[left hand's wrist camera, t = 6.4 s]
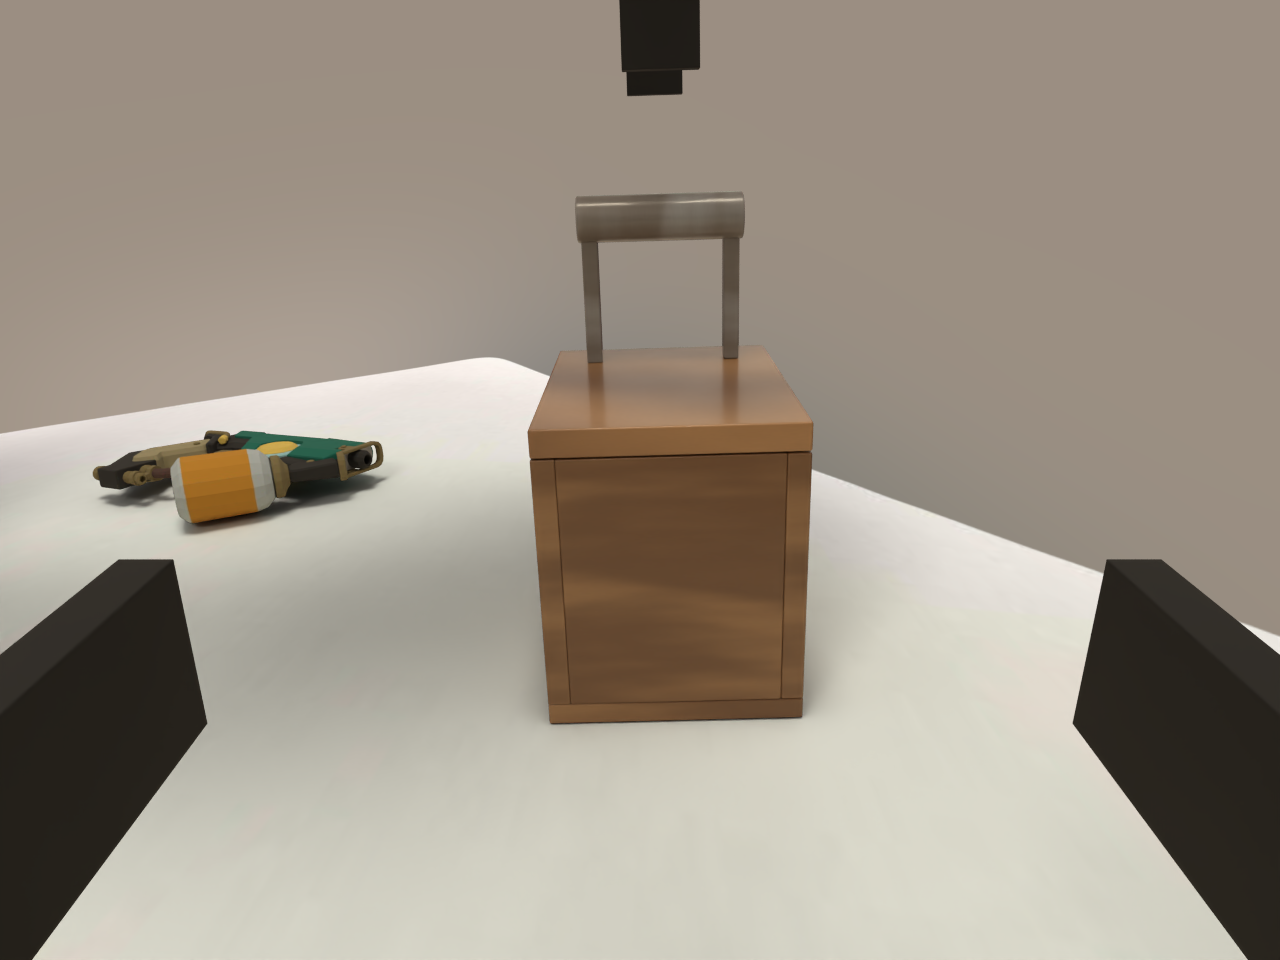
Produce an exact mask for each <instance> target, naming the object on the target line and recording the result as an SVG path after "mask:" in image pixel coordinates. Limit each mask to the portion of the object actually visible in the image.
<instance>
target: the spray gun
mask: <svg viewBox="0 0 1280 960" xmlns="http://www.w3.org/2000/svg"><path fill="white" fill-rule="evenodd" d="M372 445H374V446H375V448H376V454H377V460H376V462H375V463H374V464H372V465H370V464H371V463H372V457H373V450H372V447H371V446H372ZM382 462H383V450H382V446H381V444H380V443H379V442H375V441H370V442H367V443H364V442H355V441H347V440H339V439H331V438H328V439H323V438H311V437H299V436H287V435H275V434H266V433H264V432H252V431H241V432H239V433H237V434H235V435H231V436H230V433H228V432H223V431H207V432H206V434H205V437H204V440H199V441H193V442H187V443H180V444H174V445H168V446H162V447H155V448H150V449H147V450H142V451H136V452H131V453H128V454H127V455H125V456H123V457H122V458H120V459H119V460H117V461H116V462H114V463H112V464H111V465H108V466H98V467H96V468H95V469H94V471H93V476H94V478H95V479H96V480H100V485H101V487H106V488H113V489H124V488H127V487H130V486H134V485H137V486H140V485H143V484H145V483H146V482H155V481H159V480H162V479H163V478H171V480H172V486H173V492H174V498H175V502H176V507H177V510H178V514H179V516H180V517H181V518H183V519H184V520H186V521H187V522H189V523H197V522H203V521H208V520H214V519H219V518H225V517H231V516H236V515H242V514H247V513H253V512H258V511H260V510H263V509H265V508H267V507H269V506H270V504H271V503H272V502H273V500H274V499H275V494H276V496H277V498H281V497H284V496H285V495H286V492H287V489H288V487H289V486H290V484H291V483H290V480H291V482H301V481H310V480H319V479H328V478H337V477H339V476H340V480H341V481H343V480H347V479H348V478H349V477H352V476H355V475H358V474H360V473H363V472H366V471H369V470H371V469H374V468H377V467H379V466H380V465H381V464H382ZM355 468H361V469H355Z"/></svg>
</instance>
